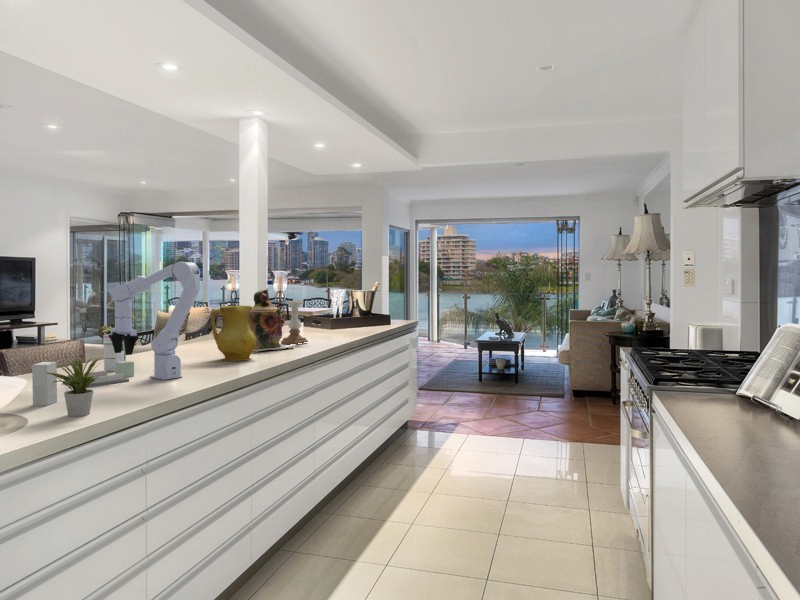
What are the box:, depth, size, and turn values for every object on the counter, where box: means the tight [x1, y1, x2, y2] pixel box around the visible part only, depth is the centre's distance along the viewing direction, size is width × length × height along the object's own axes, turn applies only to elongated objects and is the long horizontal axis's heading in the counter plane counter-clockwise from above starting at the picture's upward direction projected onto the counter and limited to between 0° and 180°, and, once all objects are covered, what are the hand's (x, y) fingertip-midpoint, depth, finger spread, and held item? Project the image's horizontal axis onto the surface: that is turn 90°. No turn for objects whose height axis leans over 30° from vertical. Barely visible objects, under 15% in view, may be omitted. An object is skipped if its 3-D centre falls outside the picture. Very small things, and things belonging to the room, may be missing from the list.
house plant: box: [47, 355, 104, 418], centre depth 165 cm, size 14×14×16 cm
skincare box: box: [31, 361, 58, 407], centre depth 176 cm, size 6×4×12 cm
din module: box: [114, 360, 135, 379], centre depth 225 cm, size 4×5×6 cm
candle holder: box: [280, 300, 309, 345], centre depth 342 cm, size 11×11×24 cm
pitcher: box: [210, 305, 256, 362], centre depth 275 cm, size 17×19×25 cm
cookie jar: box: [248, 287, 296, 353], centre depth 317 cm, size 25×25×32 cm
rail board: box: [63, 370, 130, 388], centre depth 212 cm, size 14×16×3 cm
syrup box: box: [102, 333, 127, 372], centre depth 239 cm, size 6×6×14 cm
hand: (123, 353), depth 225 cm, fingers open, 7 cm apart
